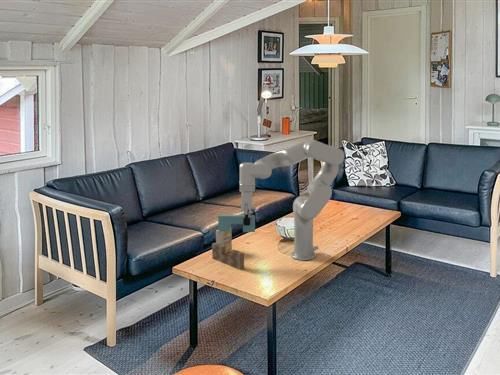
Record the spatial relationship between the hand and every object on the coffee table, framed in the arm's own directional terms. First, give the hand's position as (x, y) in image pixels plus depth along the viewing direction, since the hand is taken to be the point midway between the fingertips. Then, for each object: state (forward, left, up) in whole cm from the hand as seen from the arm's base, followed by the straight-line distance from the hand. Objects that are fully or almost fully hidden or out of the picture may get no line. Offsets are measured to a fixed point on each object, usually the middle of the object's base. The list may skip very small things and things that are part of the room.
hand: (247, 223), depth 250 cm
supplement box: (0, -19, -20) cm, 28 cm away
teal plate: (+4, -4, -4) cm, 6 cm away
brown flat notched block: (+9, -5, -20) cm, 22 cm away
